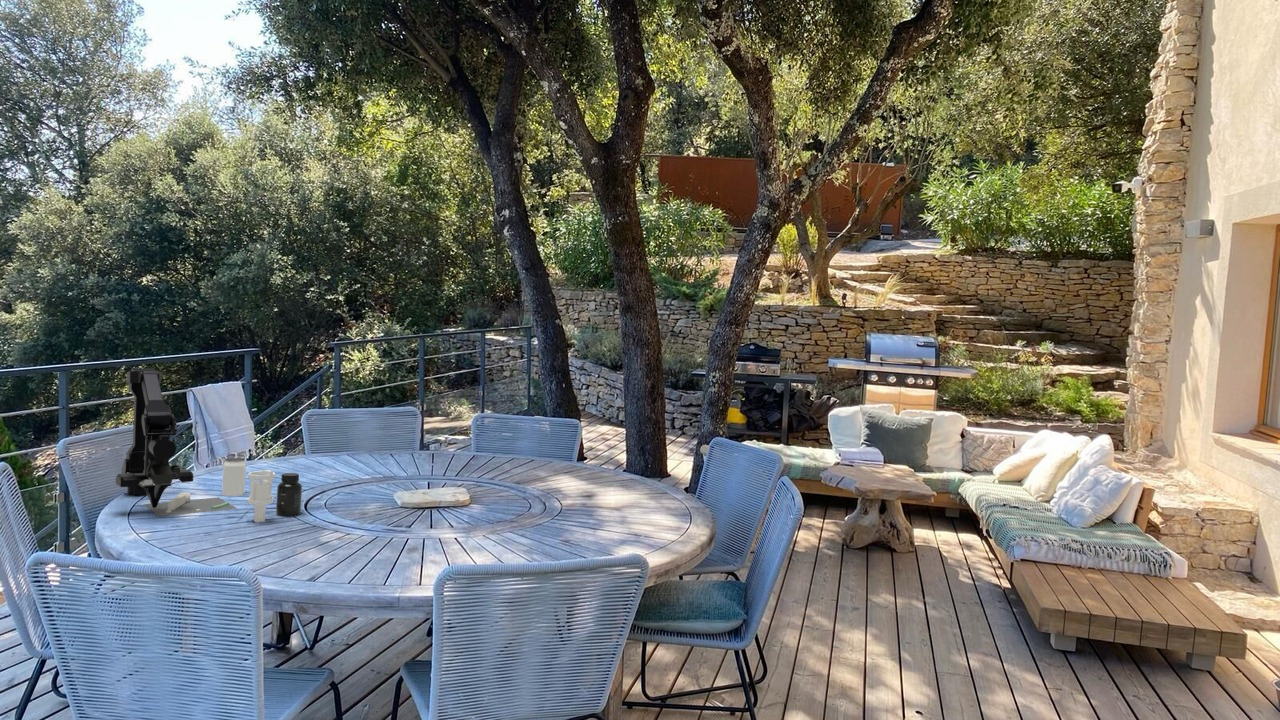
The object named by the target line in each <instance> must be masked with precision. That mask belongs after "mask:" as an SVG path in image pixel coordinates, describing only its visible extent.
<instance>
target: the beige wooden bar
mask: <svg viewBox="0 0 1280 720" xmlns="http://www.w3.org/2000/svg"><path fill="white" fill-rule="evenodd" d="M190 500H191V492H179V493H178V495H177V496H175V497H174V498H172V499H171V500H169V501H167V502H168V509H167V510H175V509H176V508H178V507H179V506H181V505H182V504H184V503H187V502H190Z"/></svg>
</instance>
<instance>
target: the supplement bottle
mask: <svg viewBox="0 0 1280 720" xmlns="http://www.w3.org/2000/svg"><path fill="white" fill-rule="evenodd" d="M280 480H281V482H280V483H278V485H277V488H276V489H277V490H276V508H275V509H276V510H275V513H276V515H278V516H279V515H280V517H295V516H294V515H296V516H298V514H299V515H300V514H301V511H302V493H303V492H302V491H303V486H302V484H301V483H300V482H299V481H300V473H296V472H284V473H282V474H281V479H280Z"/></svg>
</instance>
